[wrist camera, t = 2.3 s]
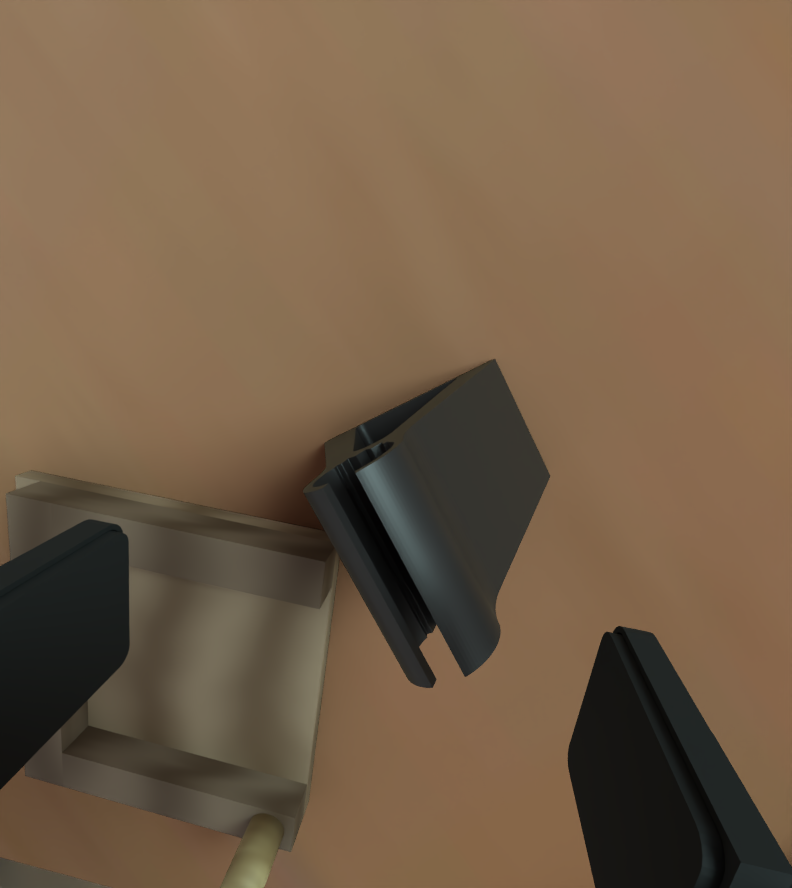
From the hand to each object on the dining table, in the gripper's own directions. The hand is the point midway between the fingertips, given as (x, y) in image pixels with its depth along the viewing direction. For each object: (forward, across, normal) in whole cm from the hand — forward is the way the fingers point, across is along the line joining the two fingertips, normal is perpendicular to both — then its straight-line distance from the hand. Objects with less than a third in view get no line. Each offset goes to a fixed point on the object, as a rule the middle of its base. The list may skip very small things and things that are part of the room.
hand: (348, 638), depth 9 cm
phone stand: (+15, -1, 0) cm, 15 cm away
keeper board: (+15, +12, +14) cm, 24 cm away
